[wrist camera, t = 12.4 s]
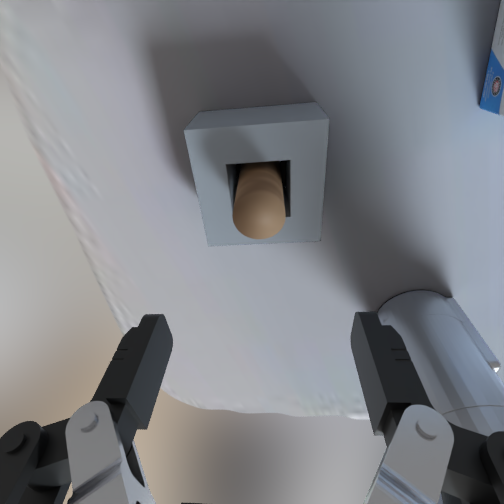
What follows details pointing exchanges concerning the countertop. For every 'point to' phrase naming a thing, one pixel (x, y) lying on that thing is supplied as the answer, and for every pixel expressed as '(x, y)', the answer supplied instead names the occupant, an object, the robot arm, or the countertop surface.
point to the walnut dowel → (259, 200)
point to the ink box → (495, 71)
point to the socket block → (260, 150)
